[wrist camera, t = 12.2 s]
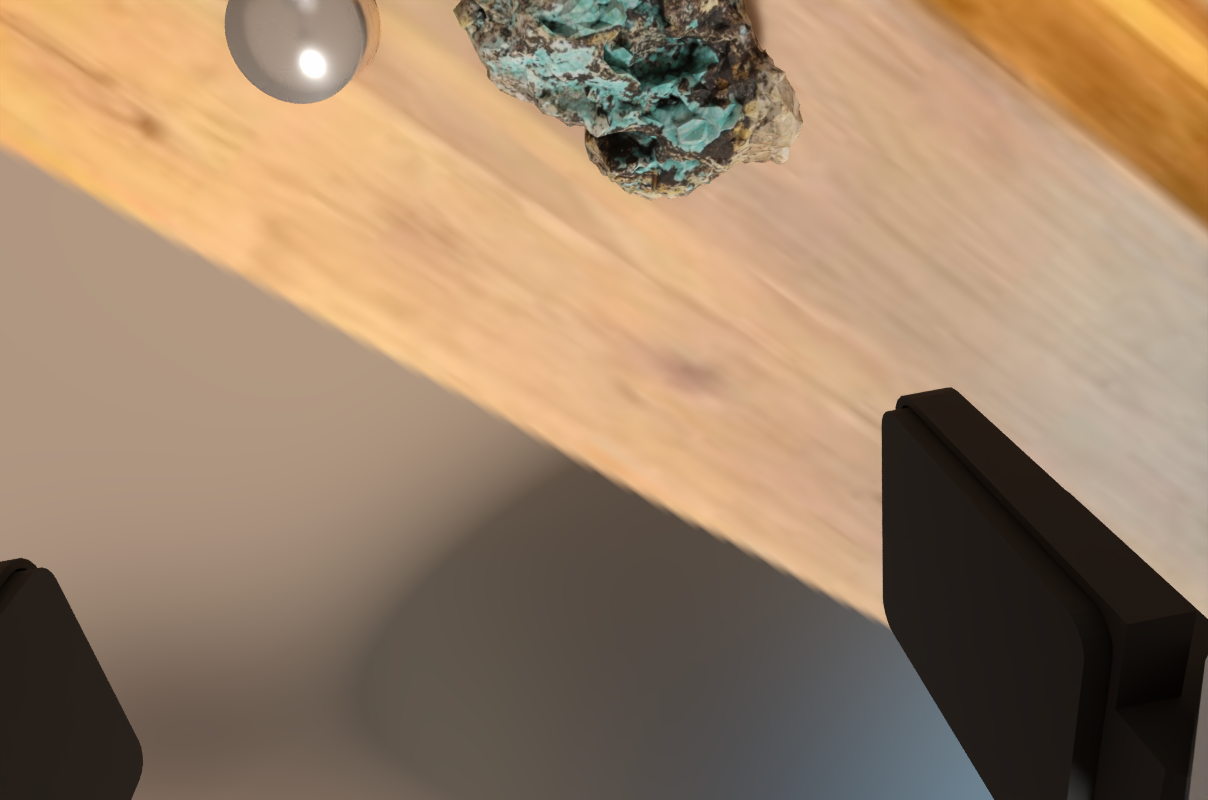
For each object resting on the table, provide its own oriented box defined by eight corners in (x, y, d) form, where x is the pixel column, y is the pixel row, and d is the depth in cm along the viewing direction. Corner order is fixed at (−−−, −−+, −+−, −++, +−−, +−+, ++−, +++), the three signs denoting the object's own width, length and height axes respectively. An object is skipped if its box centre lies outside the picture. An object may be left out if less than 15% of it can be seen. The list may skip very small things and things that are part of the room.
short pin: (252, -29, 32) (206, -27, 27) (365, -47, 33) (341, -48, 27) (285, 89, 34) (248, 113, 29) (392, 71, 34) (375, 92, 29)
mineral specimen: (418, -16, 32) (459, 85, 27) (607, -230, 30) (695, -166, 24) (629, 180, 41) (693, 287, 35) (792, 27, 38) (889, 117, 32)
